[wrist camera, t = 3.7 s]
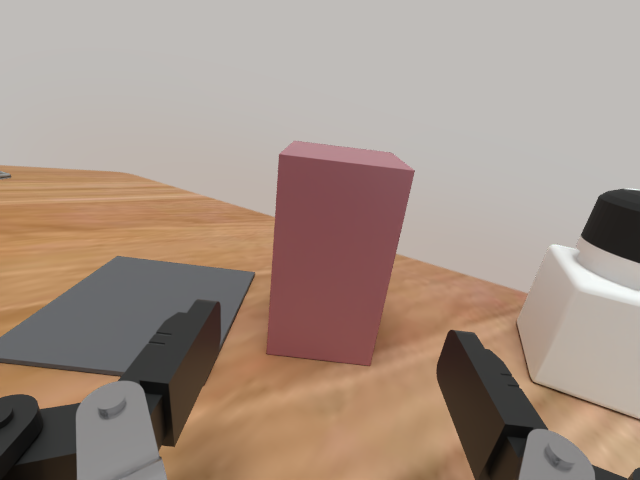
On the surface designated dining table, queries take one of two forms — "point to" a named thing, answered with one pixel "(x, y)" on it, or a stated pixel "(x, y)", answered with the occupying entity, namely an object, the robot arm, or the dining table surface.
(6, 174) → the strap clip
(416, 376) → the dining table surface
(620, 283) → the medicine bottle
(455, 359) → the robot arm
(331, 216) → the tall pink pillar
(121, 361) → the mat
